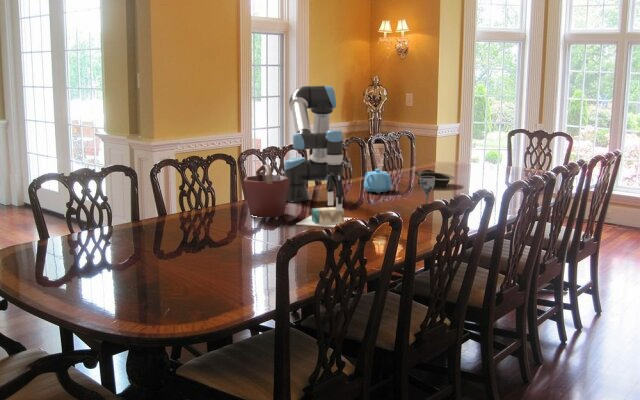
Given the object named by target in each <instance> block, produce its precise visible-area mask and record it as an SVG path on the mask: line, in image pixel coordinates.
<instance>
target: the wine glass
mask: <svg viewBox="0 0 640 400" xmlns="http://www.w3.org/2000/svg"><path fill="white" fill-rule="evenodd" d="M419 178H420V185H419V186H420V188H421V190H422V192H424V194H425V198H426V199H425V200H426V202H428V203H429V201H428V199H429V195H430V193H431V192H432V190H433V189H435V188H434V185H435V177H433V176H421V177H419ZM426 202H425V203H426Z"/></svg>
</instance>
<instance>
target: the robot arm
mask: <svg viewBox="0 0 640 400" xmlns="http://www.w3.org/2000/svg"><path fill="white" fill-rule="evenodd" d="M288 105H289V106H288V107H289V109H290V111H291V112H292V118H293V124H294V130H295V133H294V134H293V135H292V147H293V148H294V150H301V151H302V150H312V153H311V154H310V156H309V159H306V158H305V157H303V156H302V157H292V158H288V159H287V160H285V161H284V167H283V171H284V176H285V177H288V178H289V183H290V184H289V190H288V195H287V201H293V202H292V203H301V202H300V201H305V202H307V201H306V200H308V201H309V200H310V195H309V193H308V192H309V191H308V188H307V185H306V184H307V182H319V181H320V182H323V181H326V187H325V189H326V191H327V206H328V207H330V206H334V204H335V207H336V211H342V208H343V197H345V194H344V193H345V192H344V187H343V179H342V178H343V177H342V175H341V174H340V173H342V172H343V170H344V169H343V168H344V167H343V166H344V165H343V159H344V155H343V139H344V137H343V131H342V130H341V129H340V130H339V129H333V130H332V129H330V121H331V120H330V117H331V114H332V113H333V112H334V109H336V108H337V98H336V92H335V89H334V87H333V86H331V85H302V86H301V87H298V88H297V89H296V90H294V91H293V92H292V94H291V95H290V97H289V101H288ZM308 109H310V112H311V114H312V115H313V127H312V128H313V129H311V125H310V118H309V113H308V112H309V111H308ZM312 131H313V132H312ZM334 189H335V190H334ZM334 192H335V193H336V195H335V196H334ZM334 197H335V198H336V199H335V203H334Z"/></svg>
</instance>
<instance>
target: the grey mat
mask: <svg viewBox="0 0 640 400" xmlns="http://www.w3.org/2000/svg"><path fill="white" fill-rule="evenodd" d="M352 218H354V217H345V216H344V222H345V220H346V221H347V219H348V220H350V219H352ZM355 218H357V217H355ZM355 218H354V219H355ZM357 219H358V220H359V218H357ZM340 223H342V222H329V223H316V224H315V223H314V222H313V221H312V214H311V215H309V216H307V217H306V218H303V219H302V220H301V221H299V222H296V223H295V226H296V225H298V226H311V227H321V228H322V227H324V228H334V227H335V226H336V224H337V225H339V224H340Z"/></svg>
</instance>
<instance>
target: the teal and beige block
mask: <svg viewBox="0 0 640 400" xmlns="http://www.w3.org/2000/svg"><path fill="white" fill-rule="evenodd" d="M344 210H345V209H344V208H343V207H342V211H336V206H331V207H330V206H328V207H317V208H316V207H315V208H311V215H312V221H313V222H314V223H315V224H316V223H329V222H343V221H344V217H345V215H344V212H345V211H344Z"/></svg>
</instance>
